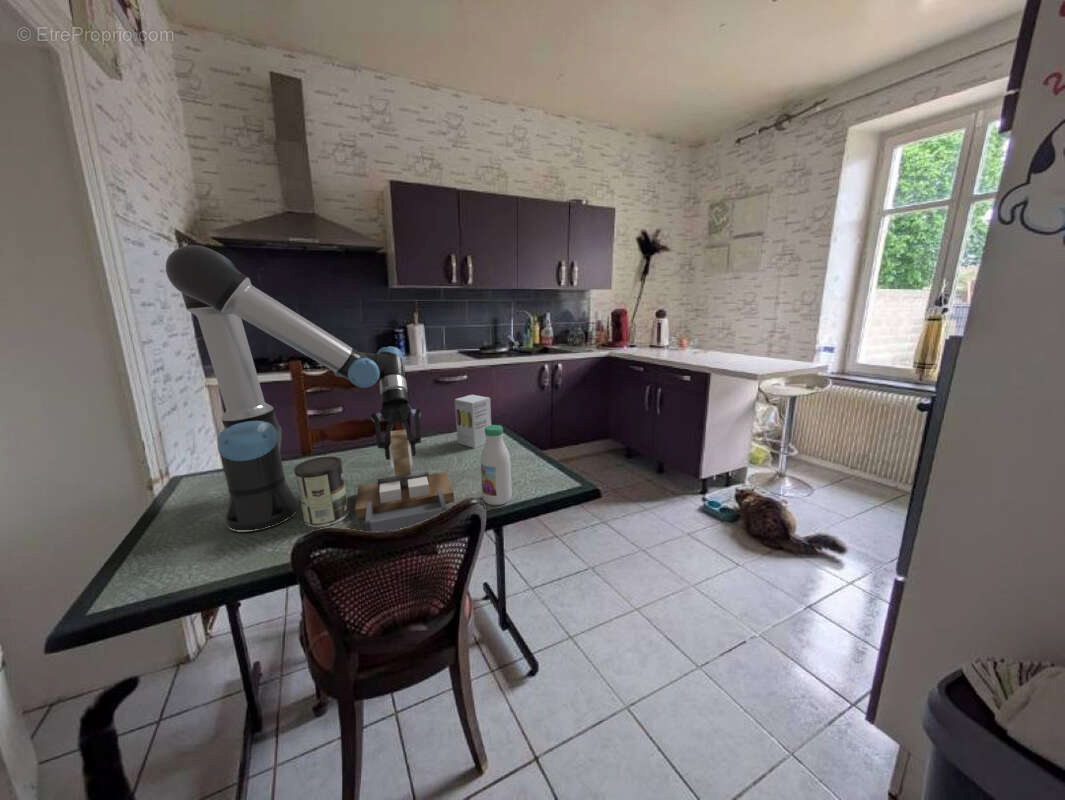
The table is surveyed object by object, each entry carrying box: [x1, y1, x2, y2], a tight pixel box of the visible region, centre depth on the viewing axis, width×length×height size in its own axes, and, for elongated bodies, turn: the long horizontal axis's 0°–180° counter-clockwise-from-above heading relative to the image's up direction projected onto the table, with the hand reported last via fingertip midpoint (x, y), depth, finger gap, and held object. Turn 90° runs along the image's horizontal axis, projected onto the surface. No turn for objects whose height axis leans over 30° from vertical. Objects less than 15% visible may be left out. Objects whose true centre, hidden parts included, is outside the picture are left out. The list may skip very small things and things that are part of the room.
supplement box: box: [454, 394, 492, 449], centre depth 149 cm, size 10×9×17 cm
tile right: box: [408, 477, 430, 498], centre depth 108 cm, size 5×5×3 cm
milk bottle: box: [480, 424, 513, 506], centre depth 106 cm, size 8×8×20 cm
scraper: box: [376, 429, 429, 490], centre depth 111 cm, size 13×6×14 cm, turn 109°
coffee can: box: [293, 456, 350, 529], centre depth 101 cm, size 10×10×14 cm
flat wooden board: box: [354, 471, 455, 520], centre depth 111 cm, size 24×14×2 cm, turn 109°
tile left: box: [379, 481, 402, 503], centre depth 106 cm, size 5×5×3 cm
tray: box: [364, 489, 448, 531], centre depth 99 cm, size 18×11×4 cm, turn 109°
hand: (402, 468), depth 109 cm, fingers closed on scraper, 4 cm apart
